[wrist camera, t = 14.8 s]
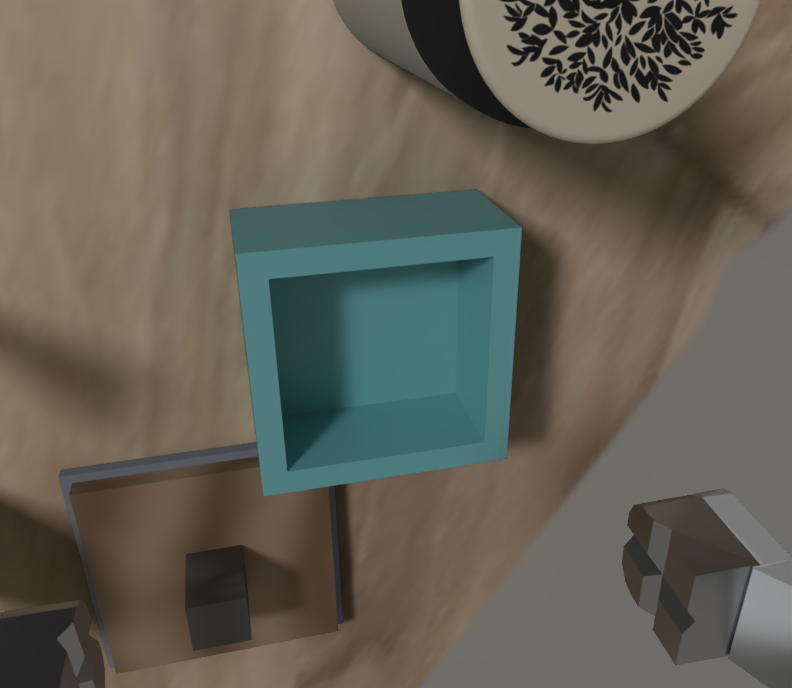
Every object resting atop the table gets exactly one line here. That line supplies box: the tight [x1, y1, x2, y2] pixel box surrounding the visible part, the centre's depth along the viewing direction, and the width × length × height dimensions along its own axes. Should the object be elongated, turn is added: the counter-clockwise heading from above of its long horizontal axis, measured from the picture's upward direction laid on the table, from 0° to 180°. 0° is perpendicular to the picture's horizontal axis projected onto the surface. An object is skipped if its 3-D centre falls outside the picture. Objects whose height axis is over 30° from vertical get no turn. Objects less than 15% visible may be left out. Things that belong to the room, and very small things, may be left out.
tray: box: [59, 442, 343, 668], centre depth 43 cm, size 14×14×1 cm
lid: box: [69, 456, 338, 674], centre depth 41 cm, size 13×13×5 cm
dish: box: [229, 189, 522, 496], centre depth 36 cm, size 12×12×6 cm
